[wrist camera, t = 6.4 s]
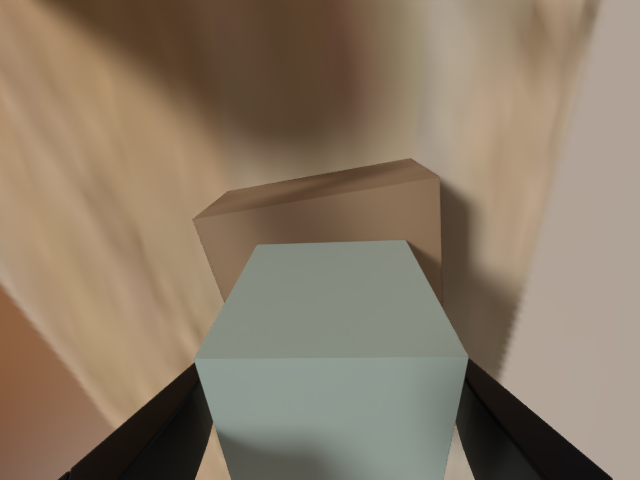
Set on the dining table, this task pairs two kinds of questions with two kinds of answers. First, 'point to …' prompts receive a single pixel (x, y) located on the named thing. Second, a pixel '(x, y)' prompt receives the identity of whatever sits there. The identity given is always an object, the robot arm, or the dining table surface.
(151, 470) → the robot arm
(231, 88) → the dining table surface
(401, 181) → the tan square slab
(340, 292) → the sage cube
